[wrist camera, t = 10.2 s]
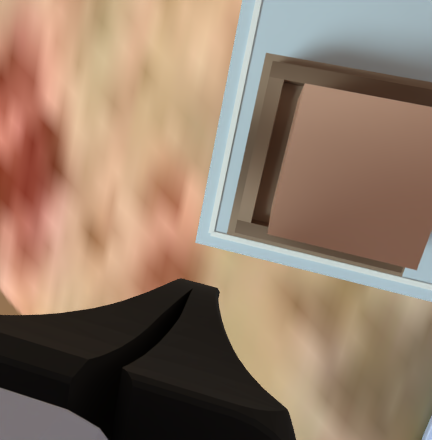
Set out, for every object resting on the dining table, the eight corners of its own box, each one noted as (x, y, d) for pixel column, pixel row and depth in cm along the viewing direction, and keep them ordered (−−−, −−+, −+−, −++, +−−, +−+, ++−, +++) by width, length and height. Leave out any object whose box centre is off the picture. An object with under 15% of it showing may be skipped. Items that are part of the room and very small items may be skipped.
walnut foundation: (381, 252, 19) (407, 283, 15) (235, 218, 20) (223, 238, 16) (433, 98, 17) (480, 86, 13) (268, 68, 18) (265, 47, 14)
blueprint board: (437, 297, 20) (446, 306, 19) (199, 237, 22) (194, 243, 21) (573, -46, 16) (593, -59, 15) (262, -86, 18) (261, -101, 17)
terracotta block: (375, 229, 16) (416, 270, 11) (271, 205, 16) (267, 234, 11) (410, 122, 15) (474, 114, 10) (297, 100, 15) (304, 83, 10)
